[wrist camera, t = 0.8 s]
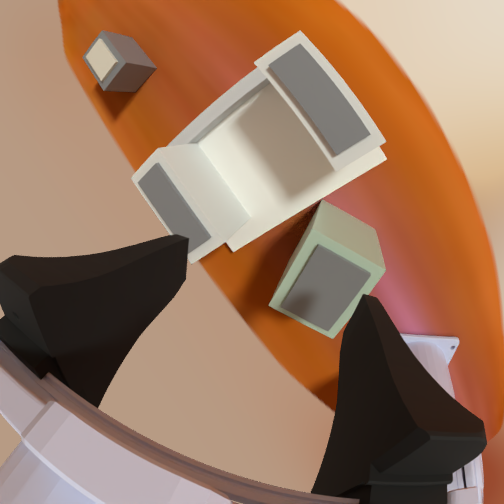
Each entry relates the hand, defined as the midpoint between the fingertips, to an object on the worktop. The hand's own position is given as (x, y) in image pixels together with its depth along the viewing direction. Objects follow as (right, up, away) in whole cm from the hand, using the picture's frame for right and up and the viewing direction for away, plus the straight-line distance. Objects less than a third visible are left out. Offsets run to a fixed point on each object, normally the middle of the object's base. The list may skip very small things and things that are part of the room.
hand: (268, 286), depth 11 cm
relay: (-11, +18, +8) cm, 23 cm away
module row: (0, +9, +8) cm, 12 cm away
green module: (+5, +2, +10) cm, 11 cm away
